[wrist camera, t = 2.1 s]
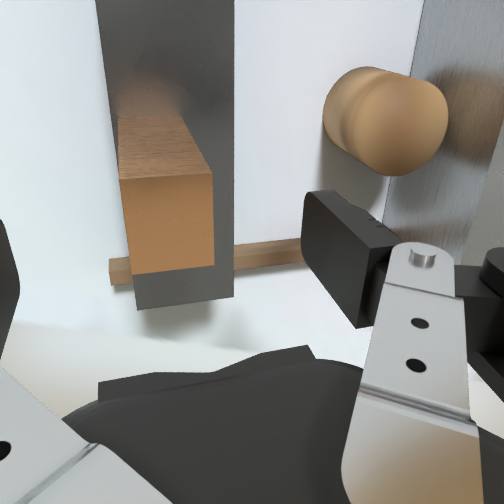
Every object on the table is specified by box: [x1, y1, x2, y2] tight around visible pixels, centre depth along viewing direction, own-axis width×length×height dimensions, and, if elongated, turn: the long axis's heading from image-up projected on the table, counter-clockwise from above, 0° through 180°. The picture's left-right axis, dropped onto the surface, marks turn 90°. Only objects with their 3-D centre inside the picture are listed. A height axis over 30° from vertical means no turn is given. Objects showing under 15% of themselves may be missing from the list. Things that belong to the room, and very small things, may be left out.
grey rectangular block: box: [382, 0, 504, 266], centre depth 25 cm, size 4×16×8 cm, turn 179°
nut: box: [323, 67, 448, 177], centre depth 25 cm, size 5×5×5 cm
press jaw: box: [95, 0, 234, 310], centre depth 18 cm, size 5×16×13 cm, turn 179°
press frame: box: [109, 228, 406, 286], centre depth 25 cm, size 23×19×2 cm
